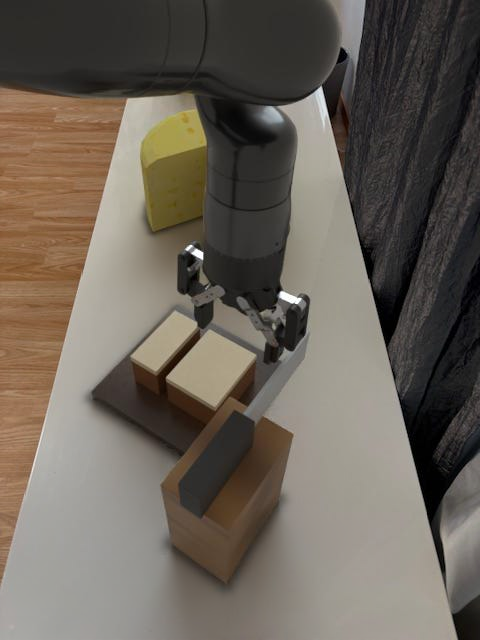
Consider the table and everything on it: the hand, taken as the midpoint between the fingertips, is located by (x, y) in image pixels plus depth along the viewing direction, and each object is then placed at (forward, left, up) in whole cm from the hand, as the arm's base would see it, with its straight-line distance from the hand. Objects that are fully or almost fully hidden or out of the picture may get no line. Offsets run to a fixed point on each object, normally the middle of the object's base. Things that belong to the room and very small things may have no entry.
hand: (237, 340), depth 61 cm
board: (+3, +10, -21) cm, 23 cm away
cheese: (+37, +29, -21) cm, 51 cm away
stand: (-11, -6, -21) cm, 24 cm away
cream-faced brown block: (+3, +6, -19) cm, 20 cm away
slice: (+3, +14, -19) cm, 24 cm away
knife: (-7, -6, -3) cm, 10 cm away
